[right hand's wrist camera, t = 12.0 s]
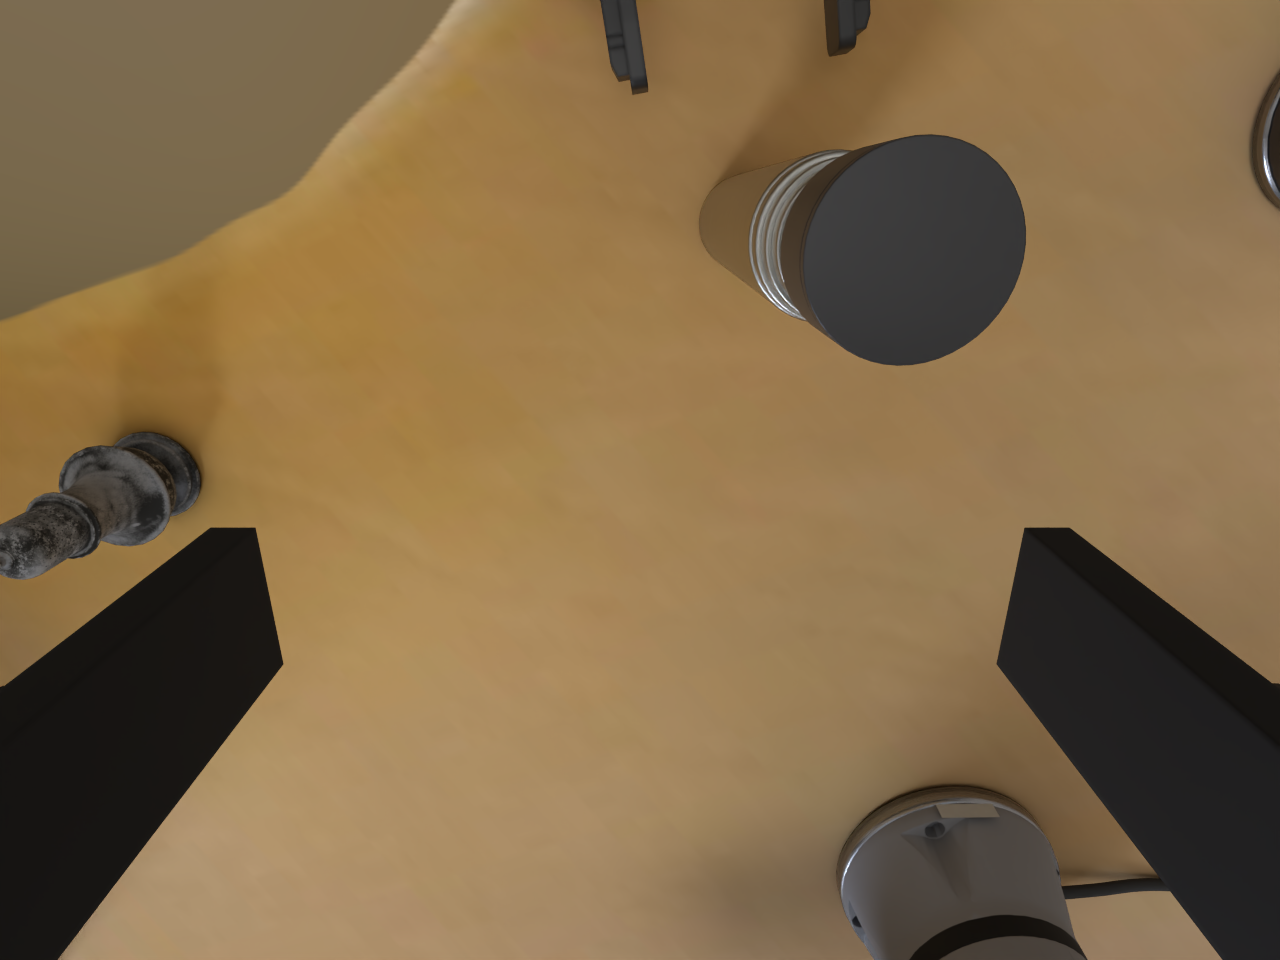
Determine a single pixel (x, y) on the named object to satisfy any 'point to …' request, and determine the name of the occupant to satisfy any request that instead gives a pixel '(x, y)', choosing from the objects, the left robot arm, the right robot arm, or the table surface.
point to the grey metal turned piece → (101, 504)
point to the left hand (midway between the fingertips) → (739, 72)
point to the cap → (904, 248)
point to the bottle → (758, 222)
